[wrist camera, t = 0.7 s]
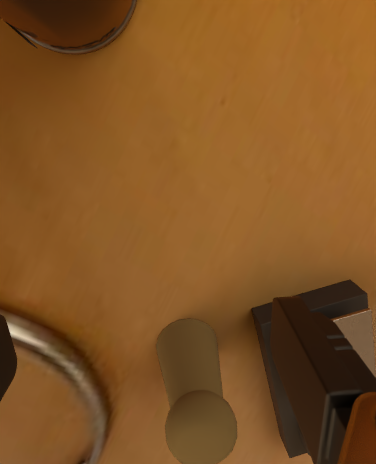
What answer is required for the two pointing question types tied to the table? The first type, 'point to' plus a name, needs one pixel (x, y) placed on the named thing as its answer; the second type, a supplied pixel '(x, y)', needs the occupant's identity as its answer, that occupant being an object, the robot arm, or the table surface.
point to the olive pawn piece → (195, 394)
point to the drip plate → (359, 334)
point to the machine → (320, 300)
